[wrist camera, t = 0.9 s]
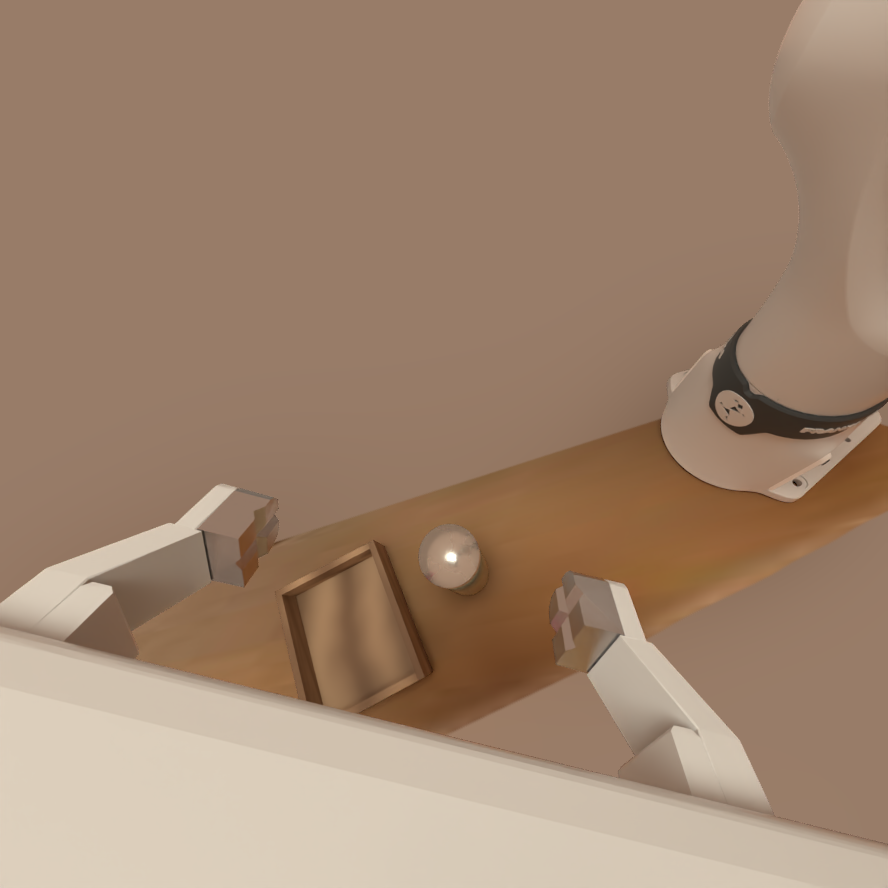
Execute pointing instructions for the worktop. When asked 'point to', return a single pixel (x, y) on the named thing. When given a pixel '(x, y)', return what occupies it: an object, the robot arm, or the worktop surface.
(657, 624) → the worktop surface
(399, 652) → the crate
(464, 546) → the spice tin
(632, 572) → the worktop surface
